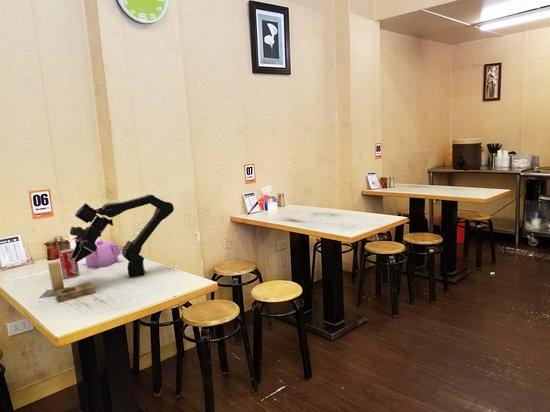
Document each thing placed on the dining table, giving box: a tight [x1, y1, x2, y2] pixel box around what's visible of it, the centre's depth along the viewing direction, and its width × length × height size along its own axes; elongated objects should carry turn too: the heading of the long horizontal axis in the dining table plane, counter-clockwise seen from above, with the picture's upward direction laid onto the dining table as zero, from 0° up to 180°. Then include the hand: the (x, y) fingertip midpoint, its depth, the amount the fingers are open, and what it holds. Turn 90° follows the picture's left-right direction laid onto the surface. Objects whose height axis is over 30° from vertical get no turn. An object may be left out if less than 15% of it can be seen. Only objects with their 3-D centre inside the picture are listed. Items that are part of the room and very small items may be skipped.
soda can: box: [58, 248, 80, 280], centre depth 198 cm, size 7×7×13 cm
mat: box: [38, 286, 70, 299], centre depth 177 cm, size 10×10×1 cm
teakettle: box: [84, 239, 122, 269], centre depth 217 cm, size 17×17×12 cm
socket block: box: [55, 281, 96, 303], centre depth 171 cm, size 14×8×3 cm, turn 124°
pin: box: [47, 260, 65, 297], centre depth 174 cm, size 4×4×13 cm
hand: (73, 259), depth 177 cm, fingers open, 9 cm apart
